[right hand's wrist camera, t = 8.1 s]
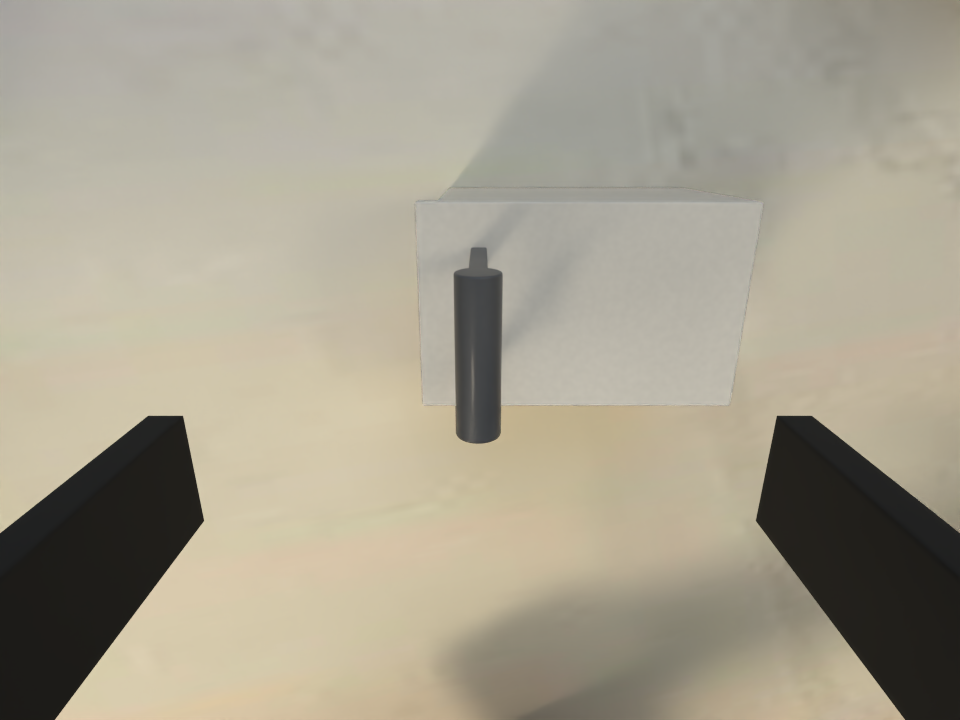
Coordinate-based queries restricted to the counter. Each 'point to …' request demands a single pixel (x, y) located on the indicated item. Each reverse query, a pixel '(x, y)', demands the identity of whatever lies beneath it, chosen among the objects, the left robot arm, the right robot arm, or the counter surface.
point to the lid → (580, 303)
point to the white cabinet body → (581, 194)
